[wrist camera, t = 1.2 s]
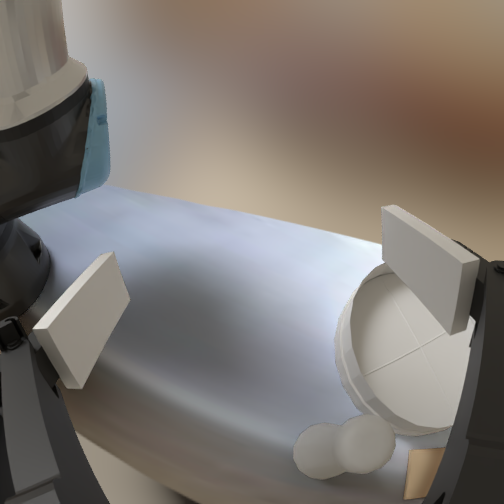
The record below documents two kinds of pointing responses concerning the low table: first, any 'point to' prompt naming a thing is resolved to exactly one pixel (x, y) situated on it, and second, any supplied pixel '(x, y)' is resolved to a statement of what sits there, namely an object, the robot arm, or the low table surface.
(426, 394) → the dish
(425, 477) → the cork coaster
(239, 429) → the low table surface
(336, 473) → the salt shaker
